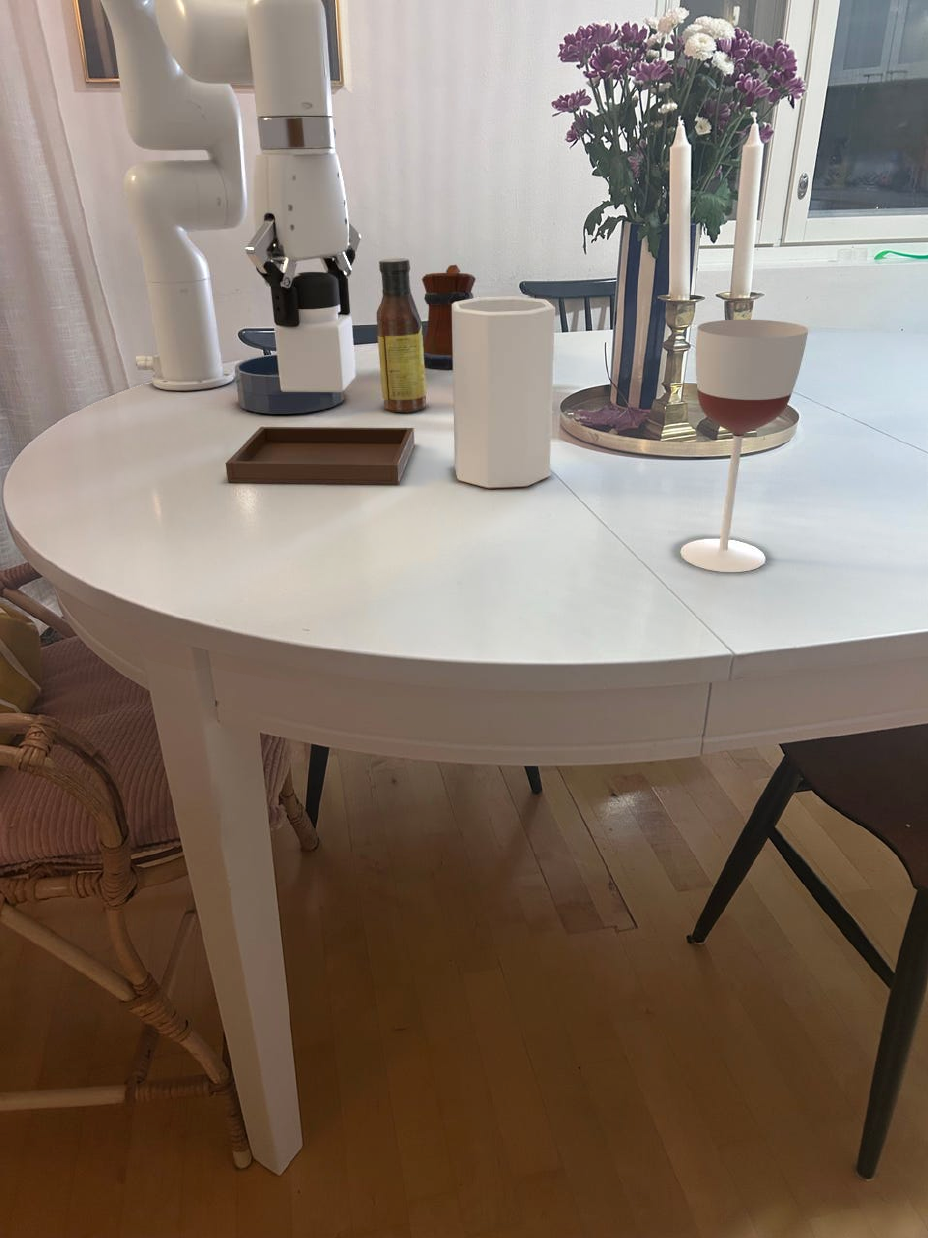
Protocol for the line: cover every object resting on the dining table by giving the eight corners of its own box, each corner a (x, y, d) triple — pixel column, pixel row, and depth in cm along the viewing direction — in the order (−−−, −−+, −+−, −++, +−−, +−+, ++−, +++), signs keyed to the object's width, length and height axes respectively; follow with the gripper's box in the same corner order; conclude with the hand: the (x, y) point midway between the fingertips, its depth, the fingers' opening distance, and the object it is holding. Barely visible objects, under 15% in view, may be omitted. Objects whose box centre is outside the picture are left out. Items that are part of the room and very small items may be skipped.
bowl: (226, 415, 127) (220, 376, 124) (256, 389, 140) (251, 352, 138) (332, 416, 126) (329, 376, 123) (352, 389, 139) (350, 353, 136)
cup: (482, 496, 97) (481, 316, 88) (436, 467, 105) (431, 301, 97) (569, 479, 101) (577, 306, 92) (518, 452, 110) (521, 292, 101)
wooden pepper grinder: (424, 347, 166) (421, 260, 159) (486, 347, 165) (486, 260, 158) (413, 370, 150) (409, 274, 143) (482, 369, 149) (482, 273, 142)
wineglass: (663, 539, 86) (684, 320, 76) (753, 535, 86) (785, 317, 77) (689, 575, 79) (715, 339, 69) (786, 570, 79) (825, 335, 70)
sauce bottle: (435, 407, 129) (431, 258, 120) (404, 416, 125) (396, 263, 116) (404, 400, 133) (397, 255, 124) (372, 408, 129) (363, 259, 120)
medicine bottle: (356, 377, 106) (348, 268, 100) (343, 392, 100) (334, 277, 94) (297, 377, 107) (286, 269, 101) (280, 392, 100) (267, 277, 95)
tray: (228, 482, 102) (225, 463, 101) (262, 444, 114) (260, 426, 113) (398, 484, 100) (397, 464, 99) (414, 445, 113) (413, 427, 112)
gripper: (327, 138, 100) (339, 305, 108) (205, 139, 87) (230, 329, 95) (380, 137, 96) (389, 310, 104) (261, 138, 83) (282, 336, 92)
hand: (313, 318), depth 100 cm, fingers closed on medicine bottle, 7 cm apart
